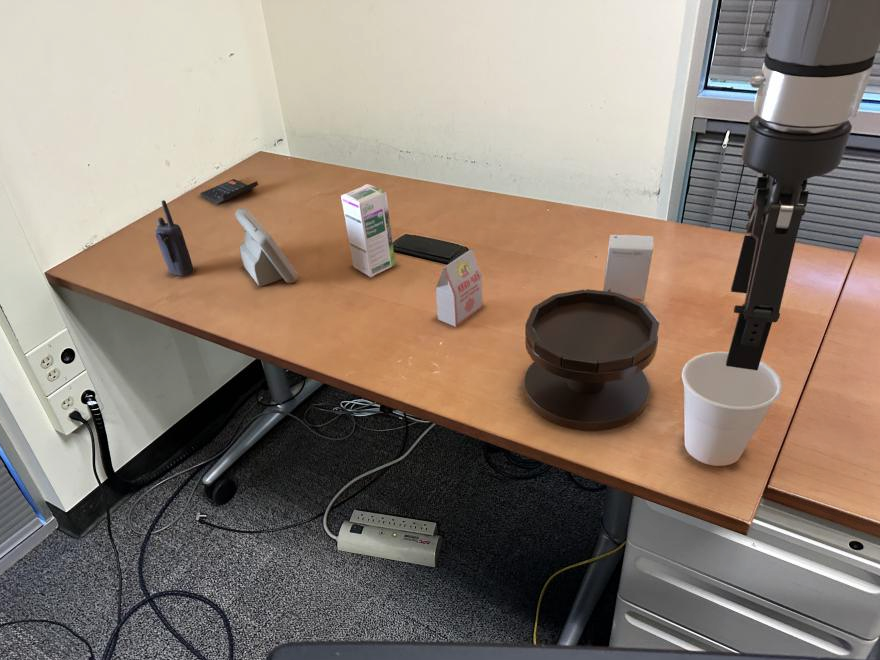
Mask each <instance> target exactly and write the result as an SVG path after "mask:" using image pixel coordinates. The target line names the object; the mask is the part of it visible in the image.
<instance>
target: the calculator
mask: <svg viewBox="0 0 880 660" xmlns="http://www.w3.org/2000/svg"><path fill="white" fill-rule="evenodd" d="M258 185H259V182H258V181H257V180H256V181H253V182H251V183H249V184H246V183H245V182H243V181H240V180H238V179H235V178H232V179H230V180H227V181H225V182H223V183H220V184H218V185H216V186H214V187H211V188H209V189H207V190H204V191H202V192H199V194H200V197H202V198H204V199H206V200H207V201H209V202H212V203H213V204H216V205H219V204H221V203H223V202H226V201H229V200H230V199H233V198H235V197H237V196H240V195H242V194H244V193H246V192H248V191H251V190H253V189H254V188H256V187H257V186H258Z"/></svg>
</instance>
